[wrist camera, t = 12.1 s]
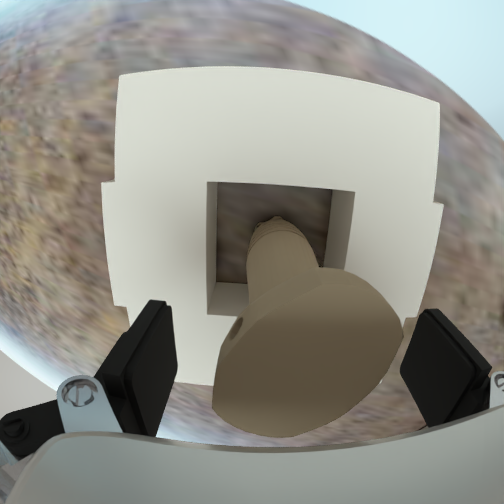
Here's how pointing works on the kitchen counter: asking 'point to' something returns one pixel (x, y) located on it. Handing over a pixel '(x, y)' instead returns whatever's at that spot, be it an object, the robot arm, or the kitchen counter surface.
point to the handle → (301, 340)
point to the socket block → (263, 172)
